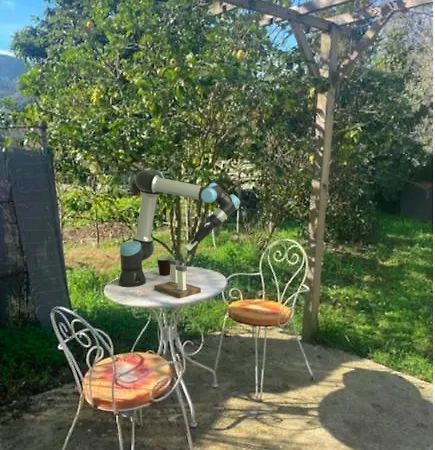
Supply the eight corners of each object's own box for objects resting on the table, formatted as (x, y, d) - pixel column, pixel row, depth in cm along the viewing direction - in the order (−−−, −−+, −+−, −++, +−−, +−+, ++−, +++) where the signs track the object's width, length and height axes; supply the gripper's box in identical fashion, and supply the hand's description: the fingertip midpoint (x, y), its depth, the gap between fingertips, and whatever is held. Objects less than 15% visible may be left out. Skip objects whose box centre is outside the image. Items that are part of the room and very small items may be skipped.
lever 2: (180, 287, 231) (179, 265, 229) (187, 289, 226) (186, 266, 225) (176, 288, 229) (175, 265, 227) (183, 290, 225) (182, 267, 223)
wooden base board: (175, 284, 247) (174, 280, 247) (200, 292, 231) (200, 287, 231) (154, 290, 238) (154, 285, 237) (179, 298, 222) (179, 293, 222)
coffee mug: (169, 276, 265) (168, 260, 264) (155, 276, 267) (155, 260, 266) (175, 271, 277) (174, 256, 275) (161, 271, 278) (161, 255, 277)
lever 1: (173, 280, 245) (172, 259, 243) (180, 282, 241) (179, 260, 239) (169, 281, 243) (168, 260, 242) (176, 283, 239) (175, 261, 237)
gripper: (220, 218, 236) (189, 250, 233) (223, 225, 248) (194, 256, 246) (210, 209, 238) (180, 241, 236) (214, 217, 251) (185, 247, 248)
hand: (187, 248), depth 241 cm, fingers closed
